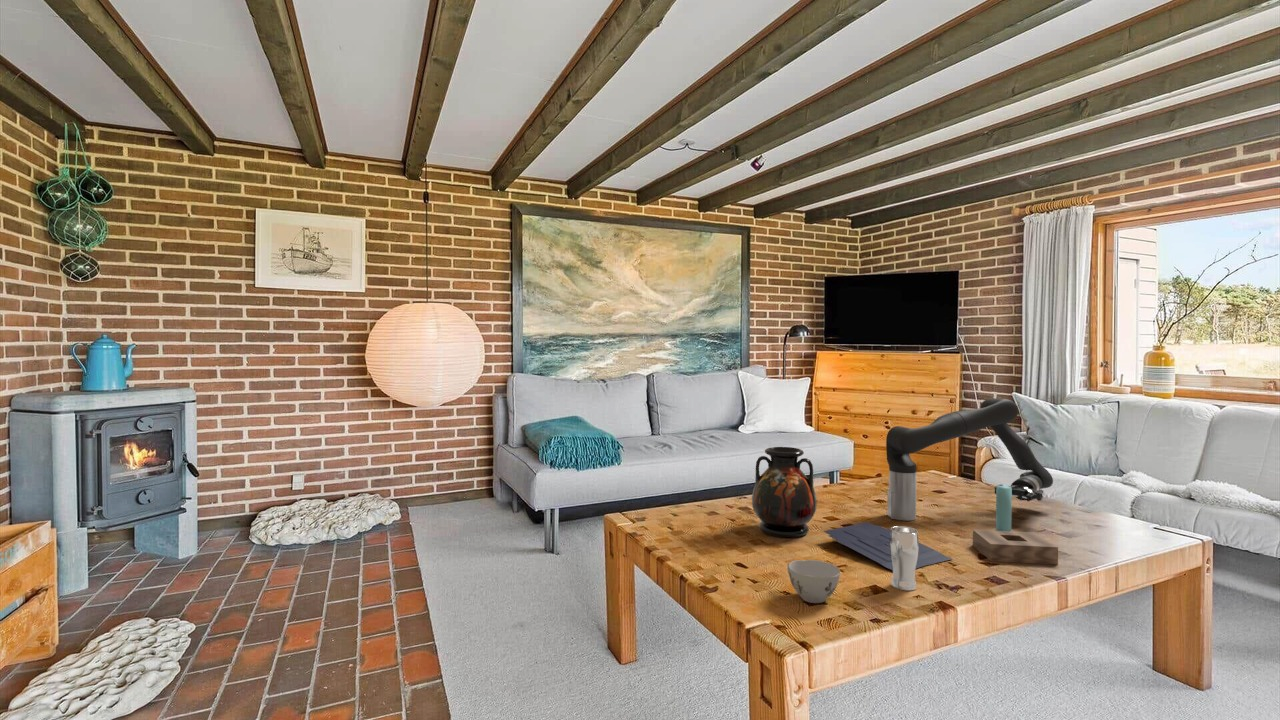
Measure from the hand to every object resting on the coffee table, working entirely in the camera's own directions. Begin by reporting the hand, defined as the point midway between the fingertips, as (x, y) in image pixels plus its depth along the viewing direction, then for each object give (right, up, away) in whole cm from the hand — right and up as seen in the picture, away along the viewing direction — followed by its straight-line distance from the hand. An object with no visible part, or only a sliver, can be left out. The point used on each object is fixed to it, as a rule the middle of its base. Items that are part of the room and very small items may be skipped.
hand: (1013, 496), depth 210 cm
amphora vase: (-80, -11, -3) cm, 81 cm away
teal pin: (-8, -11, -8) cm, 16 cm away
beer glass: (-60, -13, -50) cm, 79 cm away
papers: (-55, -12, -24) cm, 61 cm away
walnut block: (-16, -12, -26) cm, 33 cm away
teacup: (-87, -13, -57) cm, 104 cm away
